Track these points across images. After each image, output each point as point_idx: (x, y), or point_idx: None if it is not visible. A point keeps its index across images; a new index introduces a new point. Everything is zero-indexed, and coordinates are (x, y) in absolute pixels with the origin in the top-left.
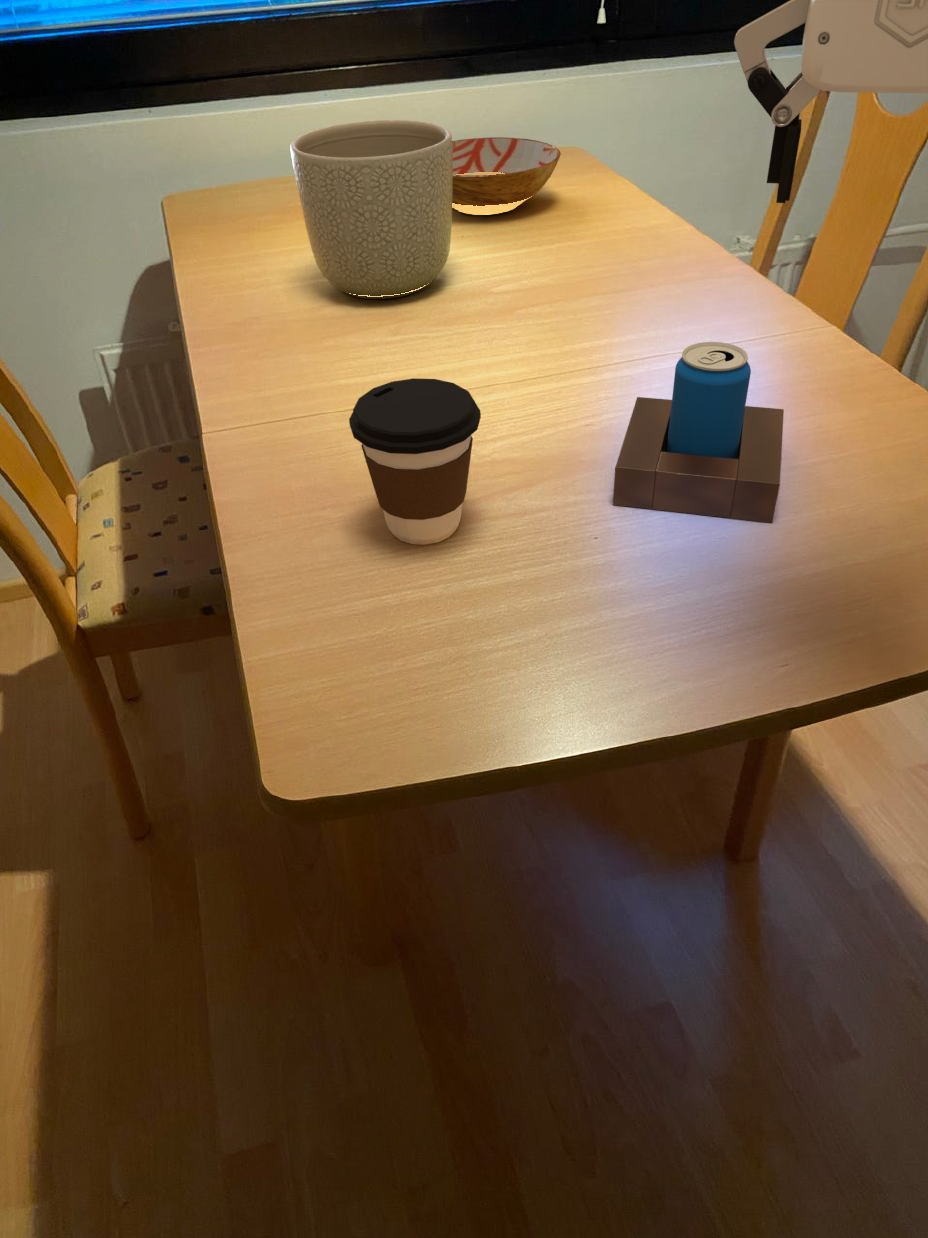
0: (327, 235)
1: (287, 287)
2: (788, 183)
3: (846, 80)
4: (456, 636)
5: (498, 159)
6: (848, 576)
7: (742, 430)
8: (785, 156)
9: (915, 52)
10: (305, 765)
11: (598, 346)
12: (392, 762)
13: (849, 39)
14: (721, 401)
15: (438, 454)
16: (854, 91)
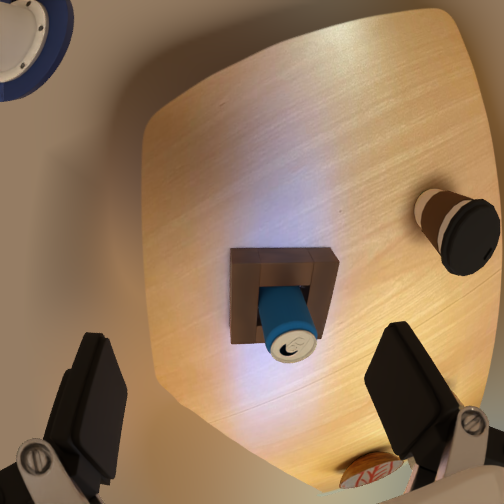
0: (458, 402)
1: (457, 383)
2: (406, 339)
3: (449, 500)
4: (407, 109)
5: (361, 477)
6: (182, 202)
7: (256, 318)
8: (436, 369)
9: None
10: (445, 25)
11: (329, 389)
12: (415, 21)
13: None
14: (283, 313)
15: (459, 208)
16: (412, 492)
